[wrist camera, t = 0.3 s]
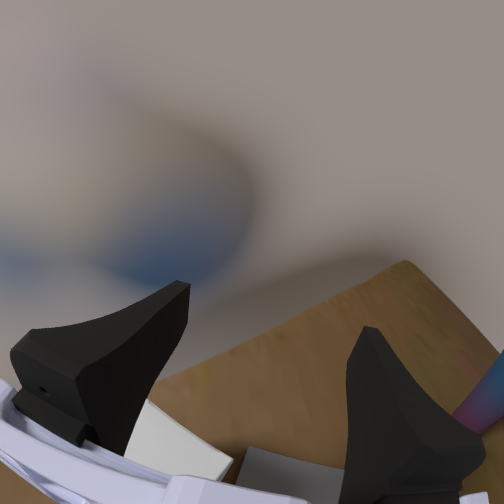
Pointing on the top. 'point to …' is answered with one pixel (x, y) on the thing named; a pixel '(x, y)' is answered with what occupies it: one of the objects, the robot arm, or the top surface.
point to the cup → (484, 400)
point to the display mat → (290, 477)
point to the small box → (173, 447)
